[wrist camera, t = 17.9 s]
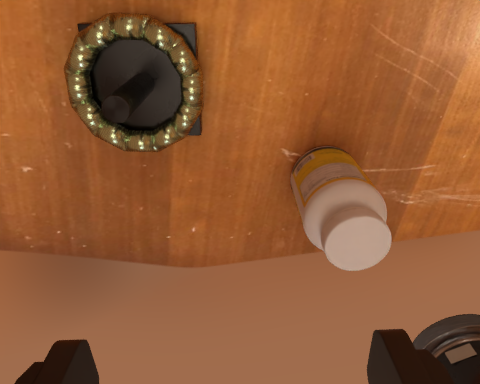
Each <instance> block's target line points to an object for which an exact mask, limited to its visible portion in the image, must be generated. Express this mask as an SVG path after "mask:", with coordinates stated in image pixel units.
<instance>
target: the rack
mask: <svg viewBox="0 0 480 384" xmlns="http://www.w3.org/2000/svg"><path fill="white" fill-rule="evenodd" d="M91 24H92V23H80V24H77V25H78V30H79V32H80V31H82V30H83V29H85V28H86V27H88V26H89V25H91ZM163 24H164V25H166V26H167V27H169V28H171V29H172V30H174V31H175V32H177V33H178V34H180V35H181V36H182V37H183V38H184V39H185V41H186V43H187V44H188V46H189V48H190V50H191V51H192V53H193V55H194V57H195V58H196V60H197V62H198V50H197V31H196V23H163ZM89 75H90V81H91V87H92V94H93V99H94V100H95V101H96V103H97V104H98V106H99V107H100V108H101V110H102V113H103V115H104V116H105V117H106V118H107V119H108V120H109V121H111V122H113V123H117V124H119V125H121V126H122V127H124V128H126V129H128V130H132V131H153V130H155V129H157V128H159V127H160V126H162V125H164V124H166V123H167V122H169V121H171V119H172V118H173V116H174V114H175V112H176V110H177V108H178V106H179V105H180V103H181V87H180V76H179V75H178V73H177V71H176V70H175V68H174V66H173V65H172V63H171V61H170V60H169V58H168V56H167V55H166V54H165V53H163V52H161V51H160V50H158V49H156V48H155V47H153V46H152V45H150V44H148V43H147V42H145V41H143V40H117V41H115V42H114V43H112V44H110V45H109V46H107V47H106V48H104V49H103V50H101V51H99V52H98V54H97V56H96V59H95V61H94V64H93V66H92V69H91V71H90V74H89ZM201 132H202V124H201V113H200V114H199V116H198V118H197V120H196V121H195V123H194V125H193V127H192V128H191V130H190V132H189V134H188V135H201Z"/></svg>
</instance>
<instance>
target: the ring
mask: <svg viewBox="0 0 480 384" xmlns="http://www.w3.org/2000/svg"><path fill="white" fill-rule="evenodd" d="M117 40H143V41H145V42H147V43H148V44H150V45H152V46H153V47H155V48H156V49H158V50H160V51H161V52H163V53H165V54H166V55H167V56H168V58H169V60H170V61H171V63H172V65H173V66H174V68H175V70H176V71H177V73H178V75H179V76H180V87H181V103H180V105H179V106H178V108H177V110H176V112H175V114H174V116H173V118H172V119H171V121H169V122H167V123H166V124H164V125H162V126H160V127H159V128H157V129H155V130H153V131H132V130H128V129H126V128H124V127H122V126H121V125H119V124H117V123H113V122H111V121H109V120H108V119H107V118H106V117H105V116H104V115H103V113H102V110H101V108H100V107H99V106H98V104H97V103H96V101H95V100H94V99H93V94H92V87H91V81H90V75H89V74H90V71H91V69H92V66H93V64H94V61H95V59H96V56H97V54H98V52H99V51H101V50H103V49H104V48H106V47H107V46H109V45H110V44H112V43H114V42H115V41H117ZM64 74H65V79H66V84H67V89H68V95H69V100H70V104H71V106H72V108H73V109H74V111H75V112H76V113H77V115H78V116H79V117H80V118H81V120H82V121H83V122H84V124H85V125H86V126H87V128H88V129H89V130H90V131H91V133H92V134H93V135H94V136H96V137H98V138H100V139H102V140H104V141H106V142H108V143H110V144H112V145H113V146H115V147H117V148H119V149H121V150H123V151H130V152H159V151H161V150H163V149H165V148H167V147H169V146H170V145H172V144H174V143H176V142H178V141H180V140H182V139H183V138H185V137H186V136H187V135H188V134H189V132H190V130H191V128H192V127H193V125H194V123H195V121H196V120H197V118H198V116H199V114H200V113H201V111H202V109H203V72H202V69H201V67H200V65H199V64H198V62H197V60H196V58H195V57H194V55H193V53H192V51H191V50H190V48H189V46H188V44H187V43H186V41H185V39H184V38H183V37H182V36H181V35H180V34H178V33H177V32H175V31H174V30H172V29H171V28H169V27H167V26H166V25H164V24H163V23H161V22H160V21H158V20H156V19H155V18H153V17H152V16H150V15H147V14H124V13H109V14H106V15H104V16H103V17H101V18H100V19H98V20H97V21H95V22H94V23H92V24H91V25H89V26H88V27H86V28H85V29H83V30H82V31H80V32H79V33H78V34H77V35H76V37H75V39H74V42H73V45H72V47H71V50H70V53H69V55H68V58H67V61H66V63H65V66H64Z"/></svg>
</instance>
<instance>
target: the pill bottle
mask: <svg viewBox="0 0 480 384" xmlns="http://www.w3.org/2000/svg"><path fill="white" fill-rule="evenodd" d="M291 188H292V191H293V194H294V198H295V201H296V205H297V208H298V211H299V215H300V218H301V221H302V225H303V227H304V230H305V233H306V235H307V237H308V238H309V240H310V241H311V242H312V243H313V244H314V245H315V246H316V247H318V248H319V249H321V250H323V251H324V252H325V254H326V256H327V258H328V260H329V261H330V262H331V263H332V264H333V265H335V266H336V267H338V268H340V269H344V270H348V271H358V270H363V269H367V268H369V267H372V266H373V265H375V264H377V263H378V262H380V261H381V260H382V259H383V258H384V257H385V256H386V254H387V253H388V251H389V249H390V246H391V241H392V236H391V232H390V230H389V228H388V226H387V225H386V220H387V208H386V204H385V201H384V199H383V197H382V196H381V194H380V193H379V191H378V190H377V189H376V188H375V186H374V185H373V184H372V182H371V181H370V180H369V178H368V177H367V176H366V174H365V173H364V172H363V171H362V169H361V168H360V167H359V165H358V164H357V163H356V162H355V160H354V159H353V158H352V157H351V156H350V155H349V154H348V153H347V152H346V151H344V150H342V149H340V148H337V147H332V146H322V147H318V148H314V149H312V150H310V151H308V152H306V153H305V154H304V155H303V156H301V157H300V158H299V159H298V161H297V162H296V163H295V165H294V167H293V170H292V173H291Z"/></svg>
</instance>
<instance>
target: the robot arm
mask: <svg viewBox="0 0 480 384" xmlns="http://www.w3.org/2000/svg"><path fill="white" fill-rule="evenodd" d="M367 376H368V382H369V384H480V334H466V335H461V336H458V337H454V338H452V339H449V340H447V341H445V342H444V343H442V344H440V345H439V346H438V347H436V348H435V349H434V350H433V351H432V352H431V353H430V352H429V351H428V350H427V349H418V350H416V349H415V347H414V345H413V343H412V342H411V340H410V338H409V336H408V334H407V333H406V331H404V330H403V329H389V330H375V331H374V333H373V338H372V342H371V348H370V353H369V359H368V365H367ZM15 384H99V375H98V372H97V369H96V365H95V362H94V359H93V356H92V353H91V350H90V346H89V344H88V342H87V340H59V341H57V342H55V343H54V344H53V346H52V347H51V349H50V351H49V353H48V355H47V357H46V358H45V360H44V362H35V363H34V364H32V365H31V366H30V367H29V368H28V369H27V370H26V372H24V373H23V374H22V375H21V376H20V377H19V378H18V379H17V381H16V382H15Z"/></svg>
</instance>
